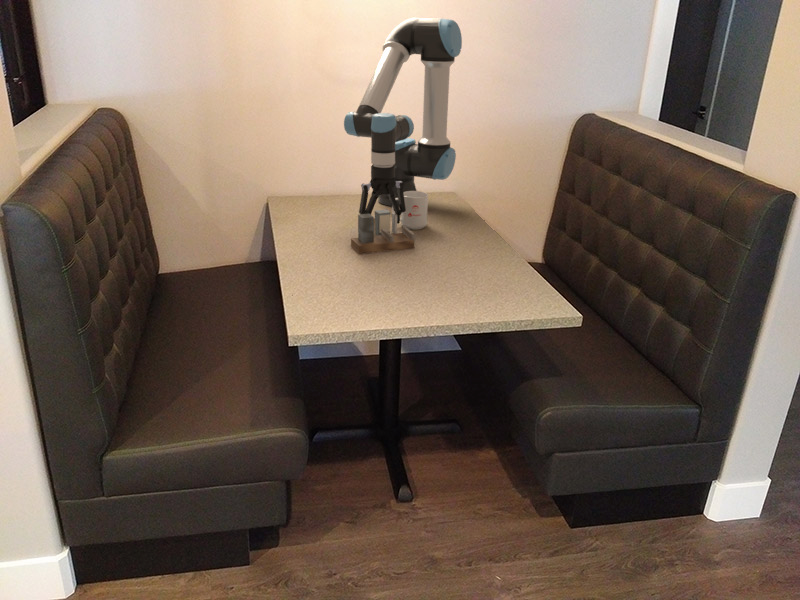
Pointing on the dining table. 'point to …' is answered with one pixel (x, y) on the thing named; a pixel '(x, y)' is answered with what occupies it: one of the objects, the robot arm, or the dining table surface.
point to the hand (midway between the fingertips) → (382, 234)
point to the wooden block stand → (379, 237)
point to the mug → (414, 210)
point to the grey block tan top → (382, 221)
